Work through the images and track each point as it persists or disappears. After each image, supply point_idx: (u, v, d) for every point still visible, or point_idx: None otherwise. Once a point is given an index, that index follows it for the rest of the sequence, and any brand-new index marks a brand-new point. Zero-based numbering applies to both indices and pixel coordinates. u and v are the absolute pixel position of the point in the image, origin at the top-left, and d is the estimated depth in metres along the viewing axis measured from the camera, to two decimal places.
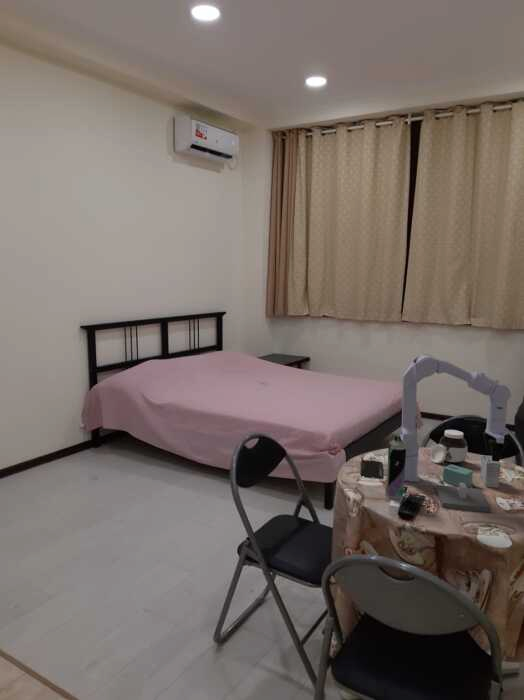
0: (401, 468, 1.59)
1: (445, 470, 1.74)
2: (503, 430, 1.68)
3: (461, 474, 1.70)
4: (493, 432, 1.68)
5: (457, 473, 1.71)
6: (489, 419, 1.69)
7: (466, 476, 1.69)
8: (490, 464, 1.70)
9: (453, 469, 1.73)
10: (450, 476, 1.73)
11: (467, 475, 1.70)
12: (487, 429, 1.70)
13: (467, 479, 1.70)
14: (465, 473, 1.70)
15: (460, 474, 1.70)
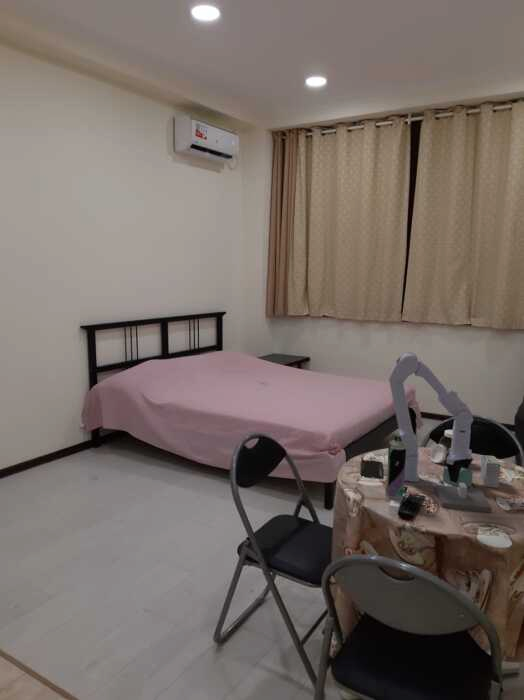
0: (401, 468, 1.59)
1: (445, 470, 1.74)
2: (462, 453, 1.70)
3: (461, 474, 1.70)
4: (452, 454, 1.72)
5: None
6: None
7: (466, 476, 1.69)
8: (490, 464, 1.70)
9: None
10: None
11: (467, 475, 1.70)
12: None
13: (467, 479, 1.70)
14: (465, 473, 1.70)
15: (460, 474, 1.70)
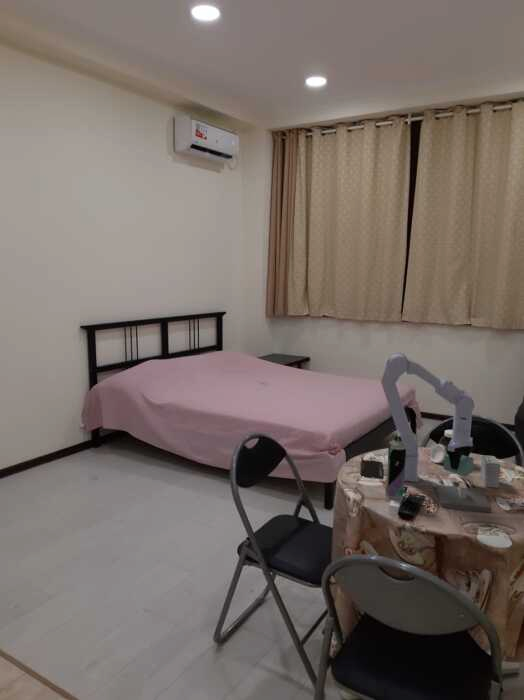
0: (401, 468, 1.59)
1: (446, 458, 1.73)
2: (463, 441, 1.69)
3: (462, 461, 1.69)
4: (453, 441, 1.71)
5: None
6: None
7: (467, 463, 1.69)
8: (490, 464, 1.70)
9: None
10: None
11: (468, 462, 1.69)
12: None
13: (468, 466, 1.69)
14: (466, 460, 1.69)
15: (461, 461, 1.70)
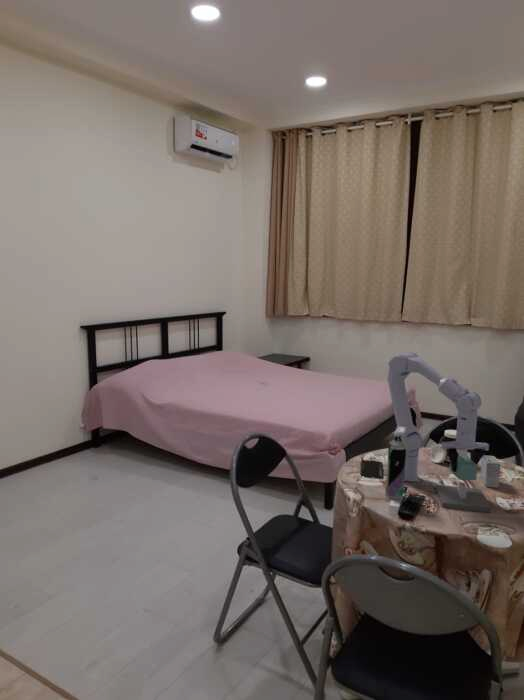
0: (401, 468, 1.59)
1: None
2: (461, 442, 1.59)
3: (458, 464, 1.60)
4: (455, 441, 1.63)
5: None
6: None
7: (462, 467, 1.59)
8: (490, 464, 1.70)
9: (458, 459, 1.63)
10: None
11: (464, 466, 1.59)
12: None
13: (464, 470, 1.59)
14: (462, 464, 1.59)
15: (457, 464, 1.60)
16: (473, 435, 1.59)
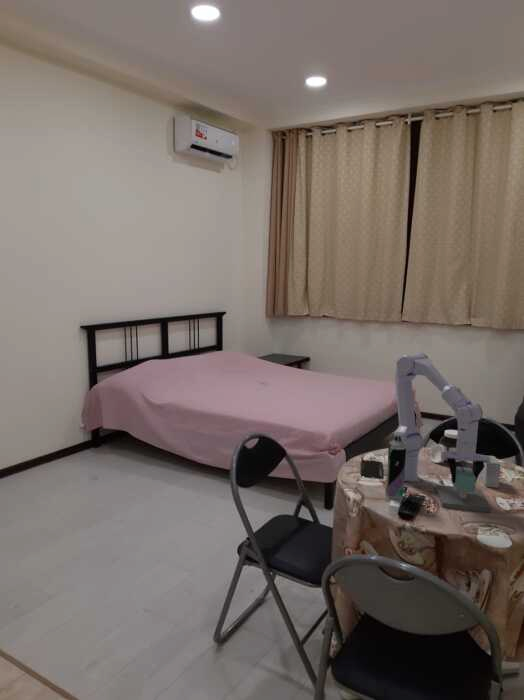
0: (401, 468, 1.59)
1: None
2: (460, 453, 1.57)
3: (456, 475, 1.58)
4: (456, 452, 1.60)
5: (455, 473, 1.59)
6: None
7: (459, 478, 1.56)
8: (490, 464, 1.70)
9: (458, 470, 1.61)
10: None
11: (461, 478, 1.56)
12: None
13: (461, 482, 1.56)
14: (460, 475, 1.57)
15: (456, 474, 1.58)
16: (472, 447, 1.55)
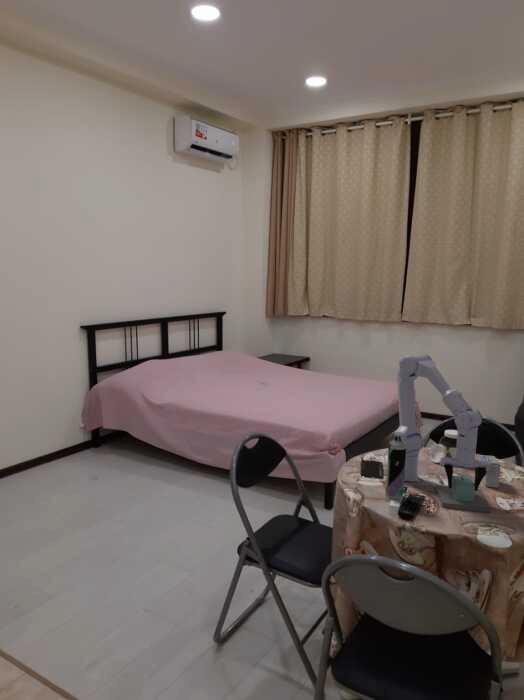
0: (401, 468, 1.59)
1: (452, 477, 1.64)
2: (459, 459, 1.57)
3: (455, 483, 1.58)
4: (455, 458, 1.61)
5: (454, 482, 1.60)
6: None
7: (458, 487, 1.57)
8: (490, 464, 1.70)
9: (457, 478, 1.61)
10: (453, 484, 1.62)
11: (460, 486, 1.57)
12: None
13: (460, 491, 1.57)
14: (459, 484, 1.57)
15: (455, 483, 1.59)
16: (472, 453, 1.56)
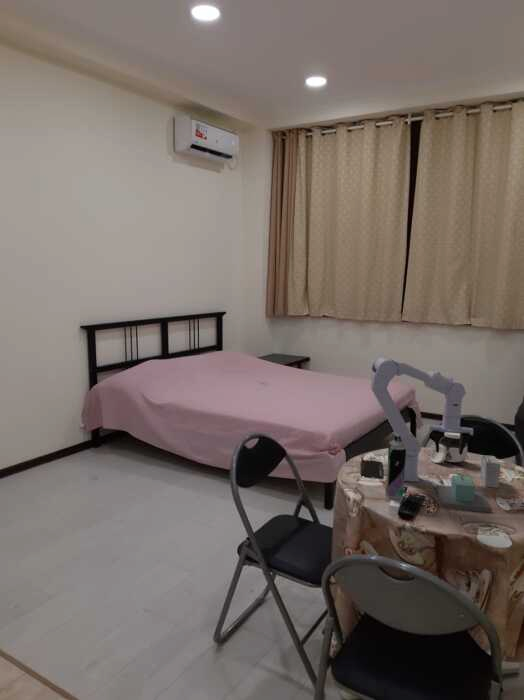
0: (401, 468, 1.59)
1: (452, 477, 1.64)
2: (445, 425, 1.74)
3: (455, 483, 1.58)
4: None
5: (454, 482, 1.60)
6: None
7: (458, 487, 1.57)
8: (490, 464, 1.70)
9: (457, 478, 1.61)
10: (453, 484, 1.62)
11: (460, 486, 1.57)
12: None
13: (460, 491, 1.57)
14: (459, 484, 1.57)
15: (455, 483, 1.59)
16: (456, 419, 1.73)
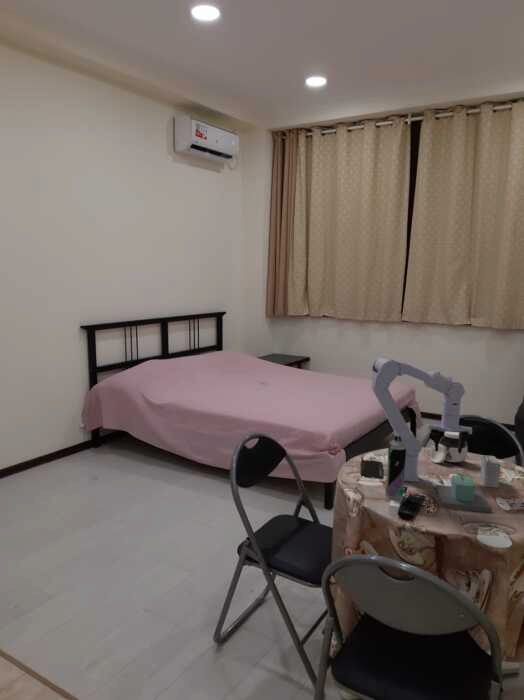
0: (401, 468, 1.59)
1: (452, 477, 1.64)
2: (445, 424, 1.75)
3: (455, 483, 1.58)
4: None
5: (454, 482, 1.60)
6: None
7: (458, 487, 1.57)
8: (490, 464, 1.70)
9: (457, 478, 1.61)
10: (453, 484, 1.62)
11: (460, 486, 1.57)
12: None
13: (460, 491, 1.57)
14: (459, 484, 1.57)
15: (455, 483, 1.59)
16: (455, 418, 1.74)
